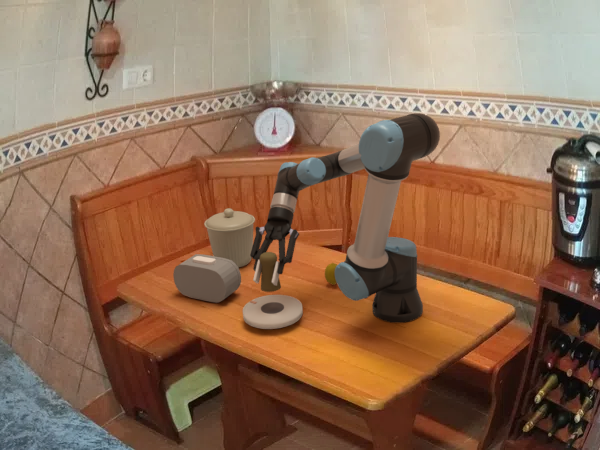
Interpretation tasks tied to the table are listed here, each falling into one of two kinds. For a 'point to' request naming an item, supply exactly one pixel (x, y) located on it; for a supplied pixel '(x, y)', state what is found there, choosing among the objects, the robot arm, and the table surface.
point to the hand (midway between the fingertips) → (265, 282)
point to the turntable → (272, 311)
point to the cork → (268, 272)
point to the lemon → (330, 273)
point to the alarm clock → (207, 277)
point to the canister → (231, 235)
